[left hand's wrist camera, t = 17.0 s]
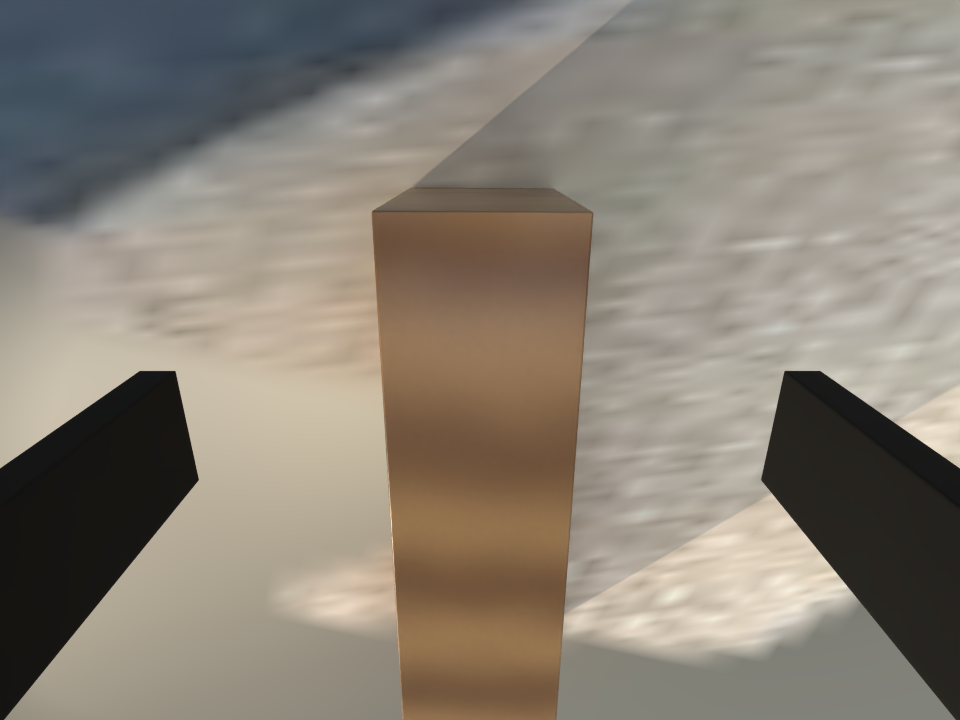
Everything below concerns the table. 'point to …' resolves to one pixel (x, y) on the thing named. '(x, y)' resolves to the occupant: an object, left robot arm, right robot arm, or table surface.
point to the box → (481, 439)
